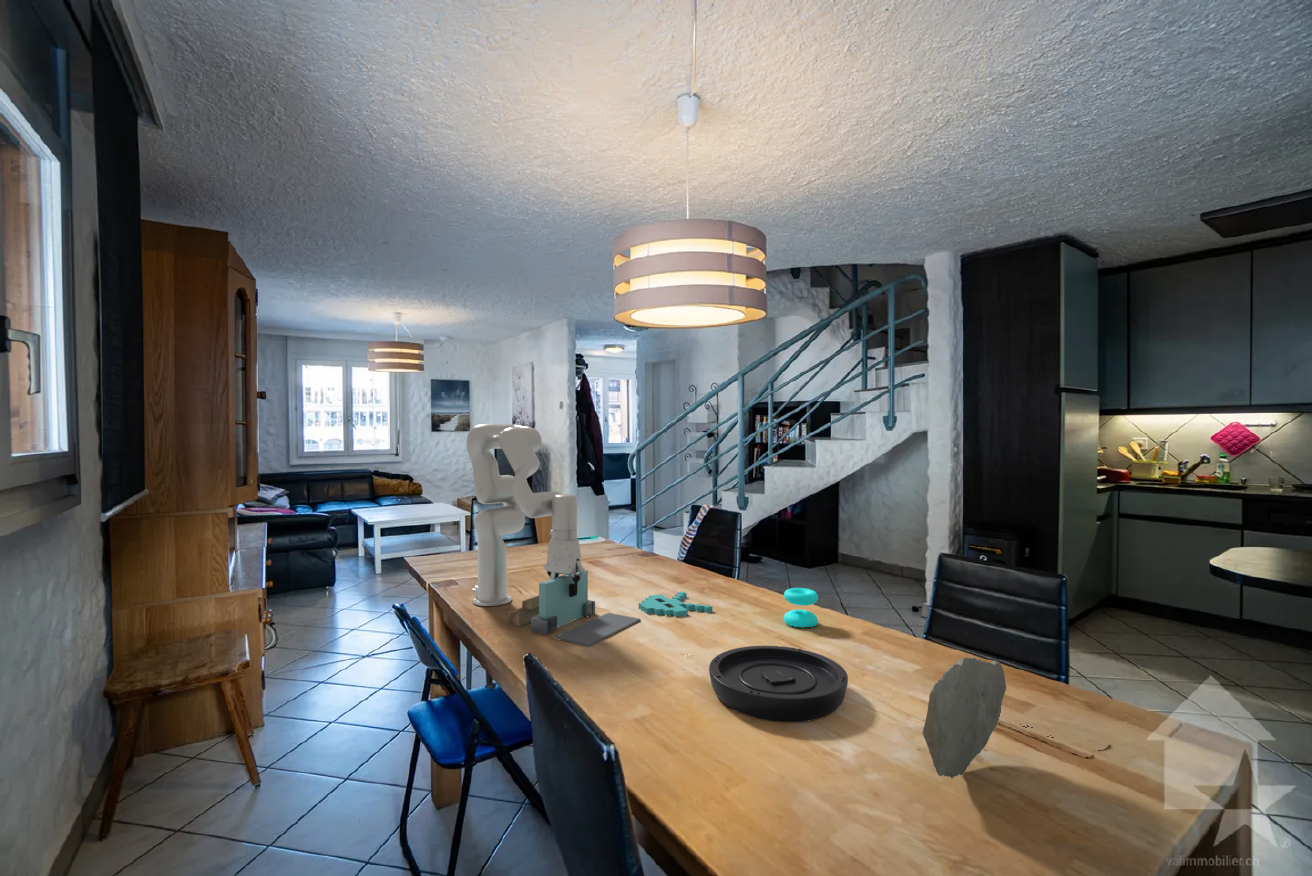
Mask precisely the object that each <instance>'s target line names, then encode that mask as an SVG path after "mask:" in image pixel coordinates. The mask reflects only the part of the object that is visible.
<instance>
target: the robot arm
mask: <svg viewBox="0 0 1312 876" xmlns="http://www.w3.org/2000/svg"><path fill="white" fill-rule="evenodd" d="M542 441H543V440H542V435H541V434H540V432H539V431H538V430H537V429H536V428H534V427H531V426H525V425H518V424H509V423H507V424H506V423H505V424H504V423H500V424H499V423H484V424H478V425H474V426H473V427H472V428H471V429H469V431H468V433H467V436H466V450H467V453H468V456H469V458H470V462H471V467H472V475H473V477H472V478H473V483H474V491H475V496H476V499H477V501H478V503H480V504H482V505H494V504H502V506H497V507H489V508H488V507H487V508H484V509H482V510H480V511H479V512H478V513H477V514H476V516H475V517H474V530H475V535H476V540H477V585H474V587H473V588H471V590H470V591H471V593H474V594H475V597H474V598H473V599H472V603H473V604H474V605H475V606H480V607H496V606H503V605H506V604H508V603H510V602H511V601H512V600H513V599H512V596H511V594H509V593H508V551H507V544H506V543H505V542H504V540H503V538H502V536H505V535H511V534H515V533H519V532H521V531H522V530H523V529H524V526H525V523H526V517H527V518H530V519H537V518H543V517H545V518H546V517H551V529H550V531H549V534H550V535H551V538H550V539H549V542H548V546H547V551H546V552H547V553H546V555H547V556H546V563H545V564H544V565H543V569H544V571H545V572H546V573H547V576H548V577H549V580H550V579H553V578H556V577H559V576H561V575H569V579H570V582H571V583H570V584H569V597H573V596H576V595H577V582H579V580H580V579H581V578H582V577H583V576H584V575H585V574H586V571H585V570H586V569H585V568H584V566H582V558H581V557H582V555H581V546H580V540H579V539H578V498H577V496H576V495H575V494H573V493H563V492H560V491H555V490H553V491H552V490H551V491H541V492H533V491H532V489H531V487H530V485H529V483H528V480H527V479H528V478H529V477H531V476H532V475H533V474H535V473H536V472H537V471H538V470H539V468H540V466H541V462H540V459H539V458H538V457H537V454H536V453H537V452H538V451H539V450H540V449H541V448H542V447H541V446H542V443H543V442H542ZM495 449H496V450H500V449H501V450H502V451H503V453H504V455H505V457H506V458H507V461H508V463H509V465H510V466H511V468H512V469H513V472H514V476H513V475H511V474H505V475H504V474H503V475H501V474H500V470H499V463H498V461H497V458H496V457H495V455H494V454H493V453H492V452H491V451H490V450H495ZM535 452H536V453H535ZM577 572H579V574H577ZM573 575H574V577H573Z"/></svg>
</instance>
